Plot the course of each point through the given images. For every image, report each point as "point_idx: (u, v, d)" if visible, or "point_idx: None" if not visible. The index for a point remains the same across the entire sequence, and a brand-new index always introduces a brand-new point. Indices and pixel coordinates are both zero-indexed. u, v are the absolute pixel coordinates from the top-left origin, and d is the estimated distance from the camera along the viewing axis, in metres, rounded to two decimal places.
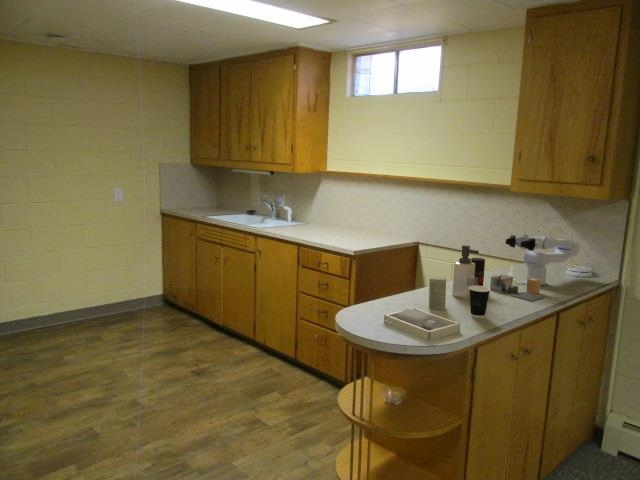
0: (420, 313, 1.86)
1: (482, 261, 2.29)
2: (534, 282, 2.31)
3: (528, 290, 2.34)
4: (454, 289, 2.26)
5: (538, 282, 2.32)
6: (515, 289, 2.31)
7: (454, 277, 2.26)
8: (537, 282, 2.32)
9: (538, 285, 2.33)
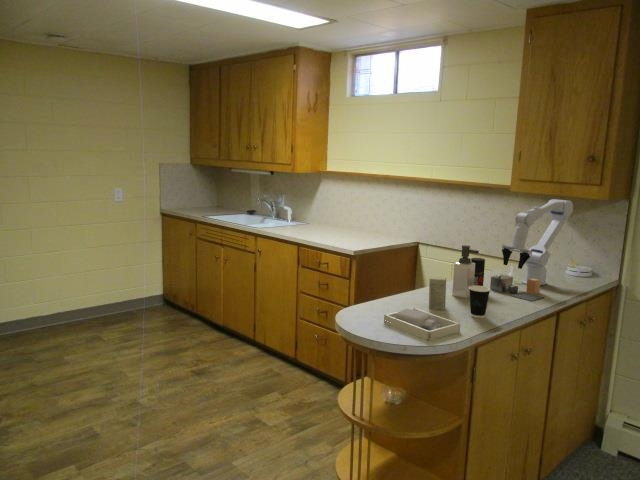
0: (419, 313, 1.86)
1: (482, 261, 2.29)
2: (534, 282, 2.31)
3: (528, 290, 2.34)
4: (454, 289, 2.26)
5: (538, 282, 2.32)
6: (515, 289, 2.31)
7: (454, 277, 2.26)
8: (537, 282, 2.32)
9: (538, 285, 2.33)
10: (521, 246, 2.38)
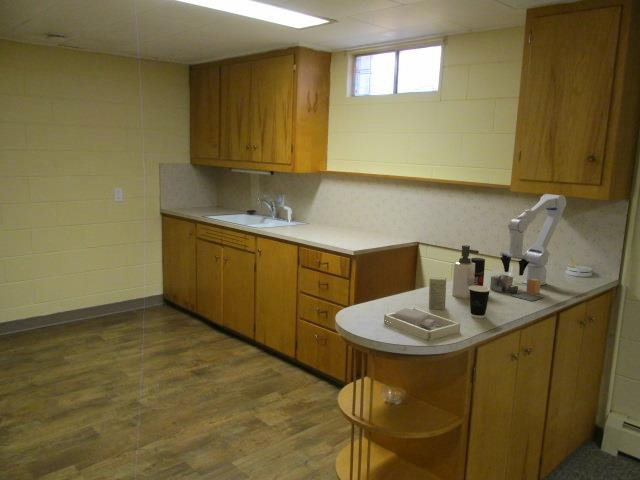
0: (418, 312, 1.87)
1: (482, 261, 2.29)
2: (534, 282, 2.31)
3: (528, 290, 2.34)
4: (454, 289, 2.26)
5: (538, 282, 2.32)
6: (515, 289, 2.31)
7: (454, 277, 2.26)
8: (537, 282, 2.32)
9: (538, 285, 2.33)
10: (518, 253, 2.38)
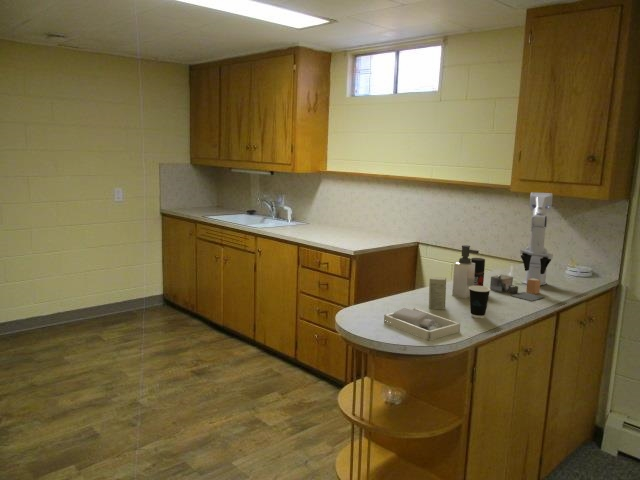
0: (416, 312, 1.87)
1: (482, 261, 2.29)
2: (534, 282, 2.31)
3: (528, 290, 2.34)
4: (454, 289, 2.26)
5: (538, 282, 2.32)
6: (515, 289, 2.31)
7: (454, 277, 2.26)
8: (537, 282, 2.32)
9: (538, 285, 2.33)
10: (540, 251, 2.29)
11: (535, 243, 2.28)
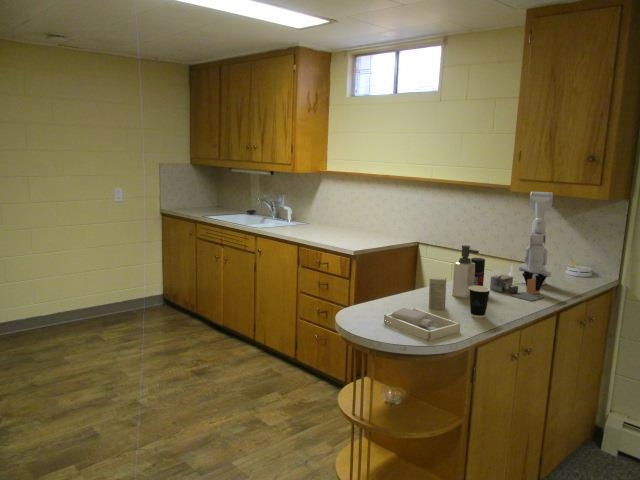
0: (416, 312, 1.87)
1: (482, 261, 2.29)
2: (534, 282, 2.31)
3: (528, 290, 2.34)
4: (454, 289, 2.26)
5: None
6: (515, 289, 2.31)
7: (454, 277, 2.26)
8: None
9: None
10: (538, 269, 2.30)
11: (534, 261, 2.30)
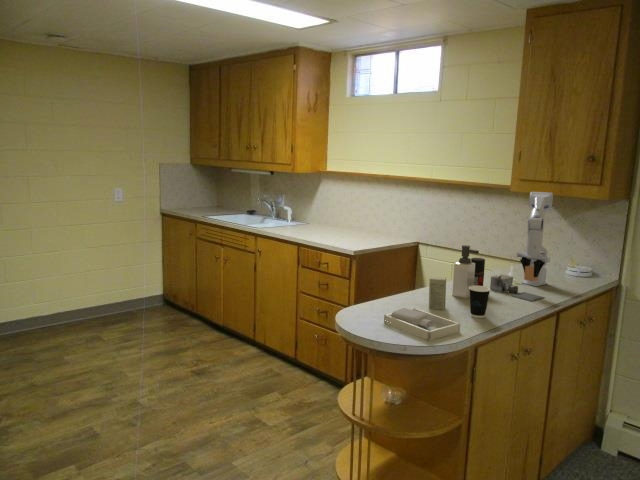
0: (415, 312, 1.87)
1: (482, 261, 2.29)
2: (532, 269, 2.25)
3: (526, 277, 2.28)
4: (454, 289, 2.26)
5: None
6: (515, 289, 2.31)
7: (454, 277, 2.26)
8: None
9: None
10: (537, 254, 2.24)
11: (532, 246, 2.23)
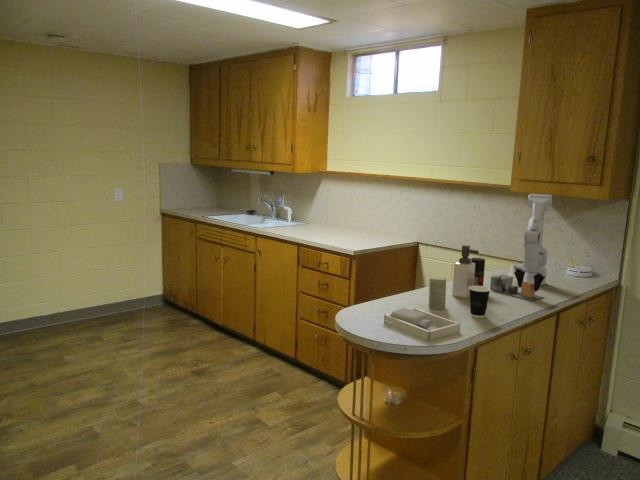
0: (415, 312, 1.87)
1: (482, 261, 2.29)
2: (529, 285, 2.24)
3: (523, 293, 2.26)
4: (454, 289, 2.26)
5: (533, 285, 2.25)
6: (515, 289, 2.31)
7: (454, 277, 2.26)
8: (532, 285, 2.24)
9: (533, 288, 2.25)
10: (534, 268, 2.22)
11: (529, 259, 2.22)
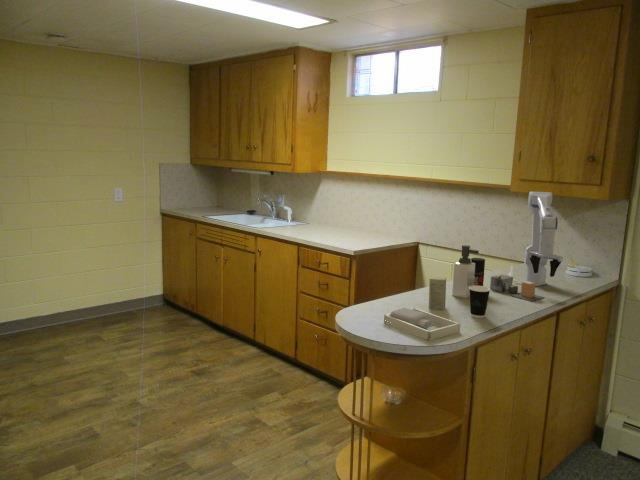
0: (415, 312, 1.87)
1: (482, 261, 2.29)
2: (529, 285, 2.24)
3: (523, 293, 2.26)
4: (454, 289, 2.26)
5: (533, 285, 2.25)
6: (515, 289, 2.31)
7: (454, 277, 2.26)
8: (532, 285, 2.24)
9: (533, 288, 2.25)
10: (550, 253, 2.24)
11: (545, 245, 2.24)
